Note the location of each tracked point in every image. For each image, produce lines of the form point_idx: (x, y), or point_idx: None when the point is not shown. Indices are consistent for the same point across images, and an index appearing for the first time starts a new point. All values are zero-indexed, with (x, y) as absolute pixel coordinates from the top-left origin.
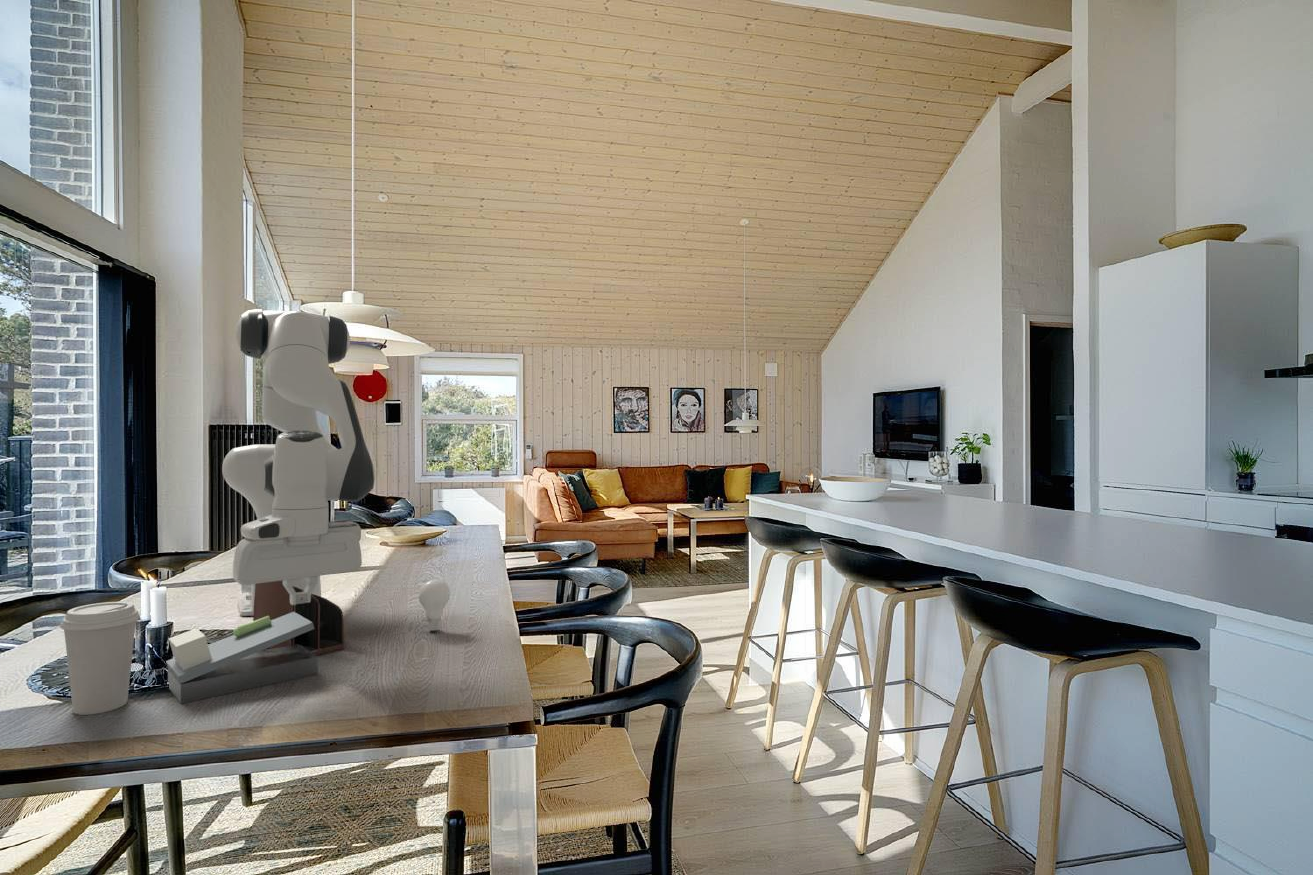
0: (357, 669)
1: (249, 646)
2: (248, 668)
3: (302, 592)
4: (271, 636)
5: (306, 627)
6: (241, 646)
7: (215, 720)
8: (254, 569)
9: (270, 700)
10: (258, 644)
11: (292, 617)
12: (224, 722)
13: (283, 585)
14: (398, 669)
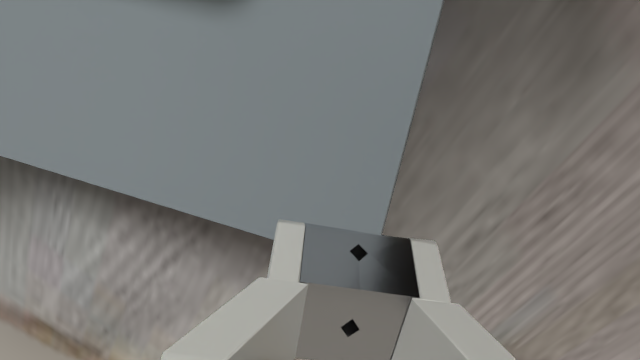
0: (503, 186)
1: (53, 153)
2: None
3: (379, 322)
4: (161, 169)
5: None
6: (21, 97)
7: (4, 256)
8: None
9: (159, 233)
10: (91, 183)
11: (381, 1)
12: (25, 282)
13: (174, 348)
14: (574, 281)
